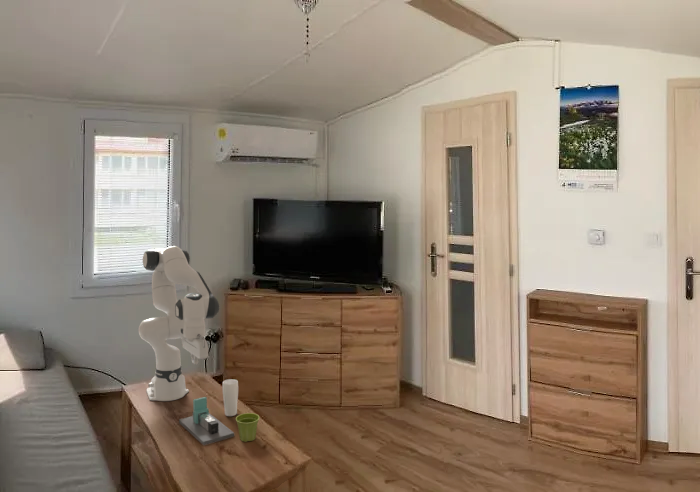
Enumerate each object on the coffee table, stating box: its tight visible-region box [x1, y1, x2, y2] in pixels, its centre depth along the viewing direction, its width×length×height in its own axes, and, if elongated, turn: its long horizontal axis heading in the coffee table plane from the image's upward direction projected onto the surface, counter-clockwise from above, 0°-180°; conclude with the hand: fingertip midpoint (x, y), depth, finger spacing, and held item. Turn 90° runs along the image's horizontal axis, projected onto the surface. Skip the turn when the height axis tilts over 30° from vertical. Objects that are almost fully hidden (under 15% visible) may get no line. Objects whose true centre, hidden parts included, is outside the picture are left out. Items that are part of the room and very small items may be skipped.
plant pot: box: [235, 412, 260, 443], centre depth 217 cm, size 9×9×9 cm
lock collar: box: [192, 396, 210, 424], centre depth 228 cm, size 3×6×10 cm, turn 128°
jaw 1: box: [198, 413, 215, 434], centre depth 224 cm, size 16×2×4 cm, turn 38°
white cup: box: [222, 378, 239, 417], centre depth 240 cm, size 7×7×15 cm
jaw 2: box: [202, 412, 219, 433], centre depth 224 cm, size 16×2×4 cm, turn 38°
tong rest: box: [178, 412, 235, 446], centre depth 225 cm, size 26×13×4 cm, turn 38°
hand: (195, 363), depth 231 cm, fingers closed
